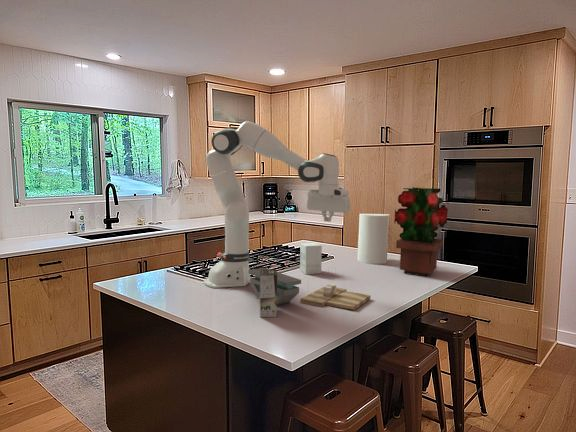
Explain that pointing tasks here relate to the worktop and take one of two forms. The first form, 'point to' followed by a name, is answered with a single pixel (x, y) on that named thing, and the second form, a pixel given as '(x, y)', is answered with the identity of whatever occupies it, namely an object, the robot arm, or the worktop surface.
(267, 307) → the coffee box
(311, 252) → the supplement box
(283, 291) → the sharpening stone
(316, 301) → the light brown rectangular block
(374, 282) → the worktop surface
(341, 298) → the plank
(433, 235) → the potted plant
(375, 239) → the cylinder
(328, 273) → the worktop surface
